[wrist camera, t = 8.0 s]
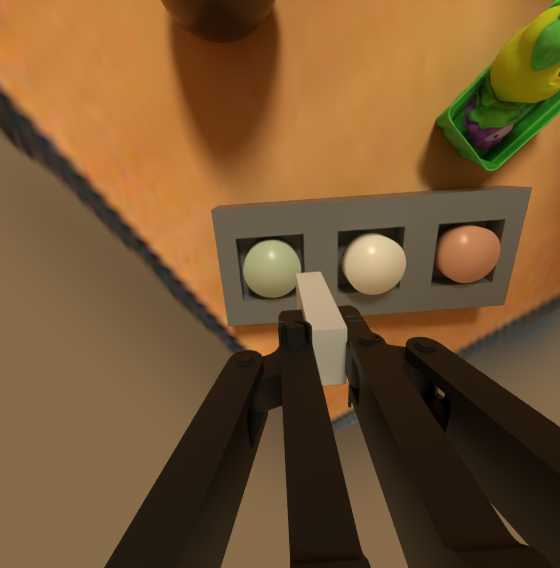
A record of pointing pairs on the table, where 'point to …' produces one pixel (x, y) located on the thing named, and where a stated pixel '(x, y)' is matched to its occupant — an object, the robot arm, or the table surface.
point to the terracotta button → (466, 252)
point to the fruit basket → (509, 96)
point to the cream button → (373, 263)
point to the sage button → (271, 267)
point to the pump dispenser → (219, 17)
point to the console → (370, 219)
